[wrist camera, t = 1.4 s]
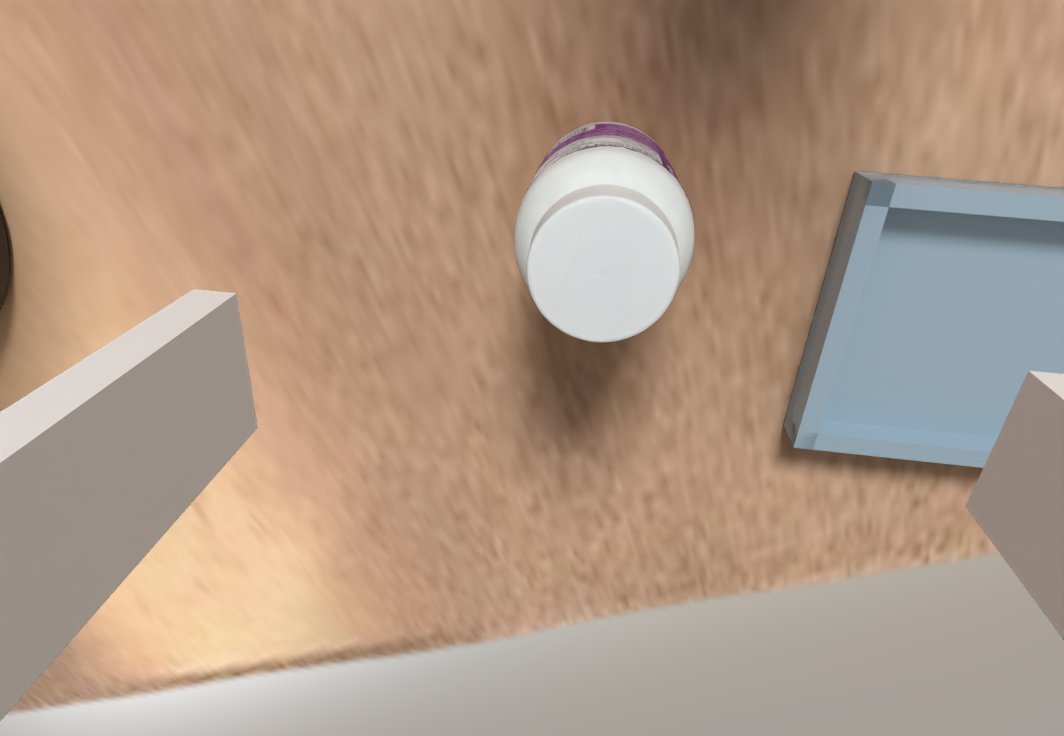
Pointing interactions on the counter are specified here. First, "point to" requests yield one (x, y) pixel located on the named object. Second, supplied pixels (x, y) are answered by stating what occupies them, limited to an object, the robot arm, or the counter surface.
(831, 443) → the tray
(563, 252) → the pill bottle
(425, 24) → the counter surface
